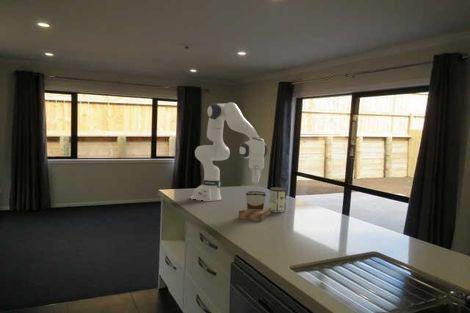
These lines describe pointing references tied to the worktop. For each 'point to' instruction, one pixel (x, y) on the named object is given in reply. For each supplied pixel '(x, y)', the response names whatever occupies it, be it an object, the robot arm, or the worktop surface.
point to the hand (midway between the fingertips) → (255, 188)
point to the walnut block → (254, 214)
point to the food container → (255, 200)
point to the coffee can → (278, 199)
